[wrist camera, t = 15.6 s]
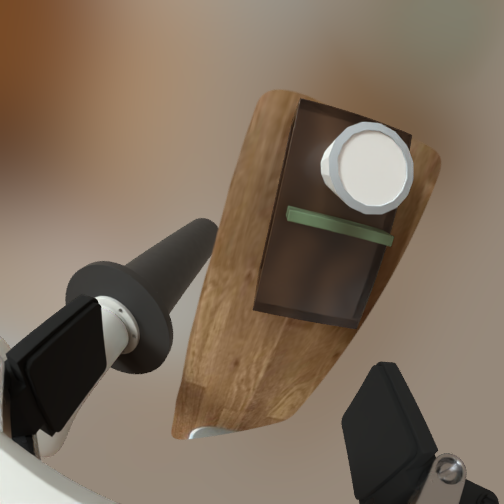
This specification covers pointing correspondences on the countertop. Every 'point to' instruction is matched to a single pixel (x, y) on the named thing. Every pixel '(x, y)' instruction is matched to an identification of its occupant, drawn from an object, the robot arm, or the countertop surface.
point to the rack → (319, 231)
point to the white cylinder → (368, 168)
